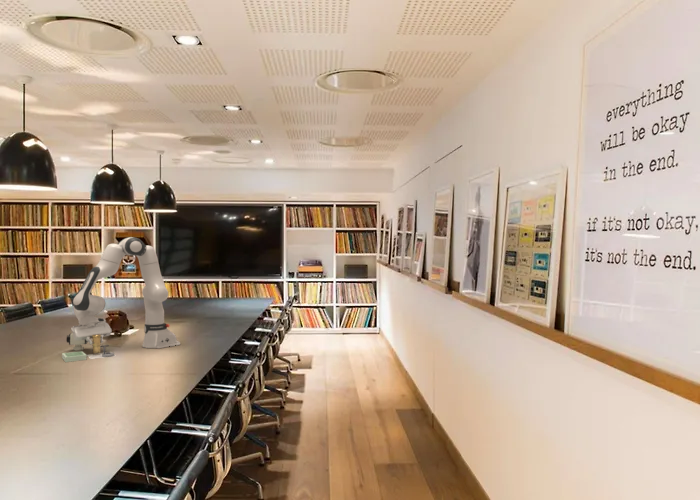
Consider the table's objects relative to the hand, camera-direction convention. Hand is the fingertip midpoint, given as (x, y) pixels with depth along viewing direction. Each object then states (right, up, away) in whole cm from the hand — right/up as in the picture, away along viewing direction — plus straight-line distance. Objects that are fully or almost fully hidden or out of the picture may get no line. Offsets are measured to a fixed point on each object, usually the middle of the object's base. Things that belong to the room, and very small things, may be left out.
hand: (97, 343), depth 277 cm
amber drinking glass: (-1, -5, 0) cm, 5 cm away
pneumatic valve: (-17, -7, +12) cm, 22 cm away
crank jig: (+3, -8, -1) cm, 8 cm away
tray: (-7, -8, -10) cm, 15 cm away
